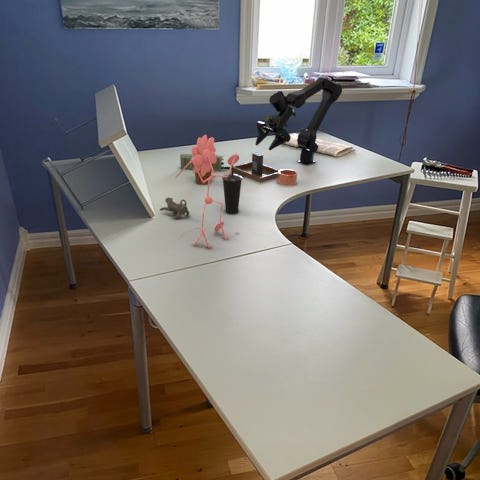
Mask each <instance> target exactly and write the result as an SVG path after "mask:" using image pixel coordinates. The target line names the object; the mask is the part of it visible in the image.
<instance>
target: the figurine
mask: <svg viewBox="0 0 480 480" xmlns="http://www.w3.org/2000/svg"><path fill="white" fill-rule="evenodd" d="M196 140H197V141H196V146H192V147H191V154H192V155H193V158H192V159H191V161H190V162H189V163H188V164H187V165H186V166H185V167H184V168H183V169H181V170H180V172H179V173H178V174H176V176H175V177H174V178H175V179H177V178H178V177H179V176H180V175H181V174H182V173H183V171H185V170H186V169H185V168H186V167H187V166H188V165H189V164H190V163H191V162H192V164H193V165H194V168H193V169H192V171H193V173H194V174H195V173H196V172H197V173H198V175H199V177H200V179H201V181H202V183H204V182H206V181H208V184H207V191H206V195H205V198H204V199H203V200H204V206H203V209H202V219H201V220H202V221H201V231H200V234H199V236H198V237H197V239H196V241H195V242H194V245H196V244H197V243H198V241H199V240H200V239H201V237H202V236H203V238H204V240H205V241H204V242H205V243H206V246H207V248H208V249H210V244H209V242H208V239H207V237H206V233H205V231H206V229H205V228H204V217H205V210H206V205H211V204H212V203H213V202H214V203H217V204H220V215H219V221H218V223H217V224H216V225H215V227H214V228H213V230H214V232H215V233H217V232H219V231H220V230H221V232H222V235H223V237H224V240H227V236H226V232H225V230H224V224H225V222H224V221H223V220H222V213H223V203H222V202H219V201H217V200H214V199H213V197H212V196H210V195H209V192H210V184H211V180H213V179H215V178H222V177H225V178H228V177H227V176H228V175H229V174H231V168H232V166H233V167H234V165H235V164H237V163H238V161H239V160H240V156H239V154H238V153H235V154H232V155H230V156H229V158H227V164H228V165H229V167H230V169H229V170H228V171H227V173H226V175H227V176H224V175H222V174H221V175H220V174H216V173H215V171H214V170H213V167H212V164H214V163H216V162H217V158H216V156H217V155H216V151H217V149H216V147H215V145H214V144H215V138H214V137H209V138H208V136H207V134H204V135H203V136H202V137H201V136H200V137H198V138H197V139H196ZM211 163H212V164H211ZM210 169H211V177H209V178H207V179H206V180H204V181H203V179H202V177H203V176H204V175H205V174H206V172H210ZM200 170H201V172H200V173H199V171H200ZM200 174H201V175H200ZM201 176H202V177H201ZM197 229H199V227H196V228H195V230H197ZM190 231H194V228H193V229H189V230H185V231H183V233H182V234H180V237H179V238H181V237H182V236H183V235H184V234H186V233H188V232H190ZM235 233H236V234H238V232H237V231H235ZM177 240H178V241H177V242H178V243H179V241H180V239H177Z"/></svg>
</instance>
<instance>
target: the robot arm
mask: <svg viewBox="0 0 480 480" xmlns="http://www.w3.org/2000/svg"><path fill="white" fill-rule="evenodd" d="M319 92H321V100H320V102H319V104H318V106H317V108H316V110H315V112H314V113H313V116H312V117H311V119H310V121H309V124H308V125H307V127H306V128H301V129H300V131H299V133H298V134H299V135H298V138H297V143H298V147H297V148H298V149H299V150H300V155H299V160H297V162H298V163H300V164H302V165H303V164H304V165H306V166H307V165H312V164H314V163H316V161H315V160H314V155H315V153H317V152H316V151H317V150H318V145H317V144H316V142H315V141H316V139H317V132H318V131H319V128H320V127H321V124H322V123H323V121H324V118H325V117H326V116H327V113H328V111H329V109H330V107H331V106H332V105H333V104H334V103H335V102H336V101H337V100H338V99H339V98H340V96H341V95H342V93H343V88H342V85H341V84H340V83H336V82H333V81H331V80H330V79H328V78H327V77H322V76H320V77H318V78H317V79H316V80H314V81H313V82H311V83H310V84H308V85H306V86H305V87H303V88H301V89H298V90H294V91H291V92H288V93H287V94H286V95H285V94H284V92H283V90H278V91H277V92H274V93H273V94H272V95H270V97H269V100H268V101H269V103H270V105H271V106H272V107H273V109H274V110H275V111H276V113H277V114H274V115H271V114H269V113H268V114H267V113H264V114H263V117H262V120H261V121H257V122H256V124H255V127H256V129H257V136H256V140H255V146H259V145H260V144H261V143H262V142H263V141H264V140H265V139H266V138H267V136H268V135H269V134H273V135H274V139H273V140H272V142H271V144H270V145H269V147H268V150H269V151H272V150H274V149H275V148H277V147H279V146H281V145H284V144H283V143H286V142H289V141H290V139H291V136H290V134H291V133H289V132H288V130H287V129H285V128H287V127H288V122H289V120H290V119H291V118H293V117H294V118H296V117H297V114H296V110H295V109H300V108H302V107H303V106H304V105H305V104H306V101H307V100H308V99H310V98H311V97H312V96H314V95H315V94H317V93H319ZM293 108H294V109H293Z"/></svg>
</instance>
